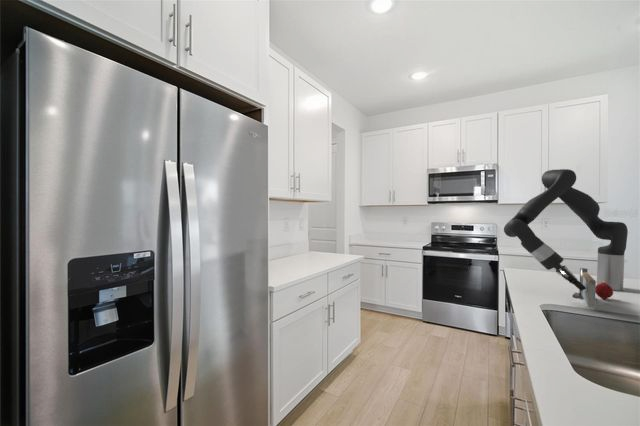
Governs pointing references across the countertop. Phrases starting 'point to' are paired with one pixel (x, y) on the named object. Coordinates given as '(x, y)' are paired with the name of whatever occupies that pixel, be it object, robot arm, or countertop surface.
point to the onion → (604, 290)
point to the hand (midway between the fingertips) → (583, 289)
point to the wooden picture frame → (588, 289)
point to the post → (577, 295)
